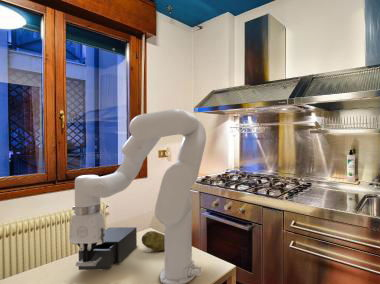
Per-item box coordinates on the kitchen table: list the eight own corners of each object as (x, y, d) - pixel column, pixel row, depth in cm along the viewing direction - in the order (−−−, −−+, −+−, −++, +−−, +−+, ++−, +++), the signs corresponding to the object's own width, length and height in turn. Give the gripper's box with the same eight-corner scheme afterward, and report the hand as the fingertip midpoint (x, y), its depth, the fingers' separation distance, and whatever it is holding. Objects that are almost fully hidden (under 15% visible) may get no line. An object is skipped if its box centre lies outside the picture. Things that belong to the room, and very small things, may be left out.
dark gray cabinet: (118, 264, 90) (118, 241, 90) (87, 264, 90) (86, 241, 90) (136, 246, 105) (136, 227, 105) (109, 246, 105) (109, 227, 104)
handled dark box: (101, 277, 80) (100, 257, 80) (68, 277, 80) (68, 257, 80) (128, 251, 98) (128, 235, 98) (101, 251, 98) (101, 235, 98)
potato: (165, 255, 97) (165, 236, 97) (138, 252, 99) (138, 234, 99) (175, 246, 106) (175, 229, 105) (149, 244, 108) (149, 227, 107)
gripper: (58, 212, 78) (58, 265, 78) (102, 213, 78) (102, 265, 78) (75, 206, 85) (75, 254, 86) (114, 206, 86) (115, 254, 86)
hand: (88, 259), depth 82 cm, fingers closed
